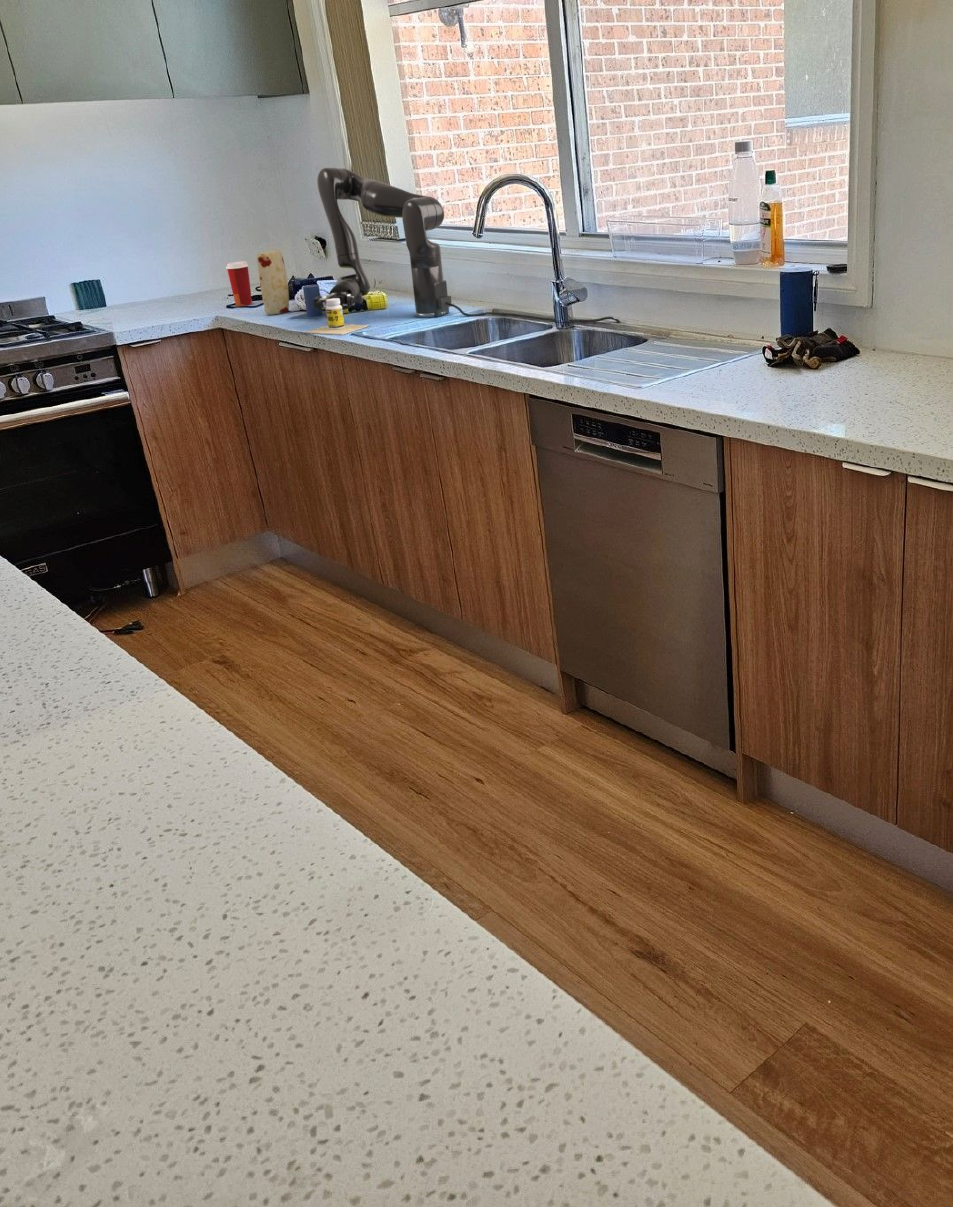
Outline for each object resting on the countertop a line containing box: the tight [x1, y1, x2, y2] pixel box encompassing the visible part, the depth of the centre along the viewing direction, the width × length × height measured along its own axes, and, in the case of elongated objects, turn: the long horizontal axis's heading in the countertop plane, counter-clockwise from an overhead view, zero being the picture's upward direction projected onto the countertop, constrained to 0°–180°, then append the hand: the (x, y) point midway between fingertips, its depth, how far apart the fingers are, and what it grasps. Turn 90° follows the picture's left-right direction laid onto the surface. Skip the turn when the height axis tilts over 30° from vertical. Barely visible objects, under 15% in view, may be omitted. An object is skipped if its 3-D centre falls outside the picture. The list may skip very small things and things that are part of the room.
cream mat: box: [305, 323, 369, 336], centre depth 316 cm, size 14×12×1 cm
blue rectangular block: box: [302, 284, 324, 317], centre depth 338 cm, size 5×5×9 cm
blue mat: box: [288, 310, 327, 321], centre depth 340 cm, size 12×12×1 cm
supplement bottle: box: [325, 298, 345, 330], centre depth 314 cm, size 5×5×8 cm
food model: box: [256, 249, 290, 316], centre depth 345 cm, size 10×7×20 cm
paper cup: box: [225, 260, 253, 307], centre depth 370 cm, size 8×8×14 cm
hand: (333, 304), depth 313 cm, fingers open, 8 cm apart
